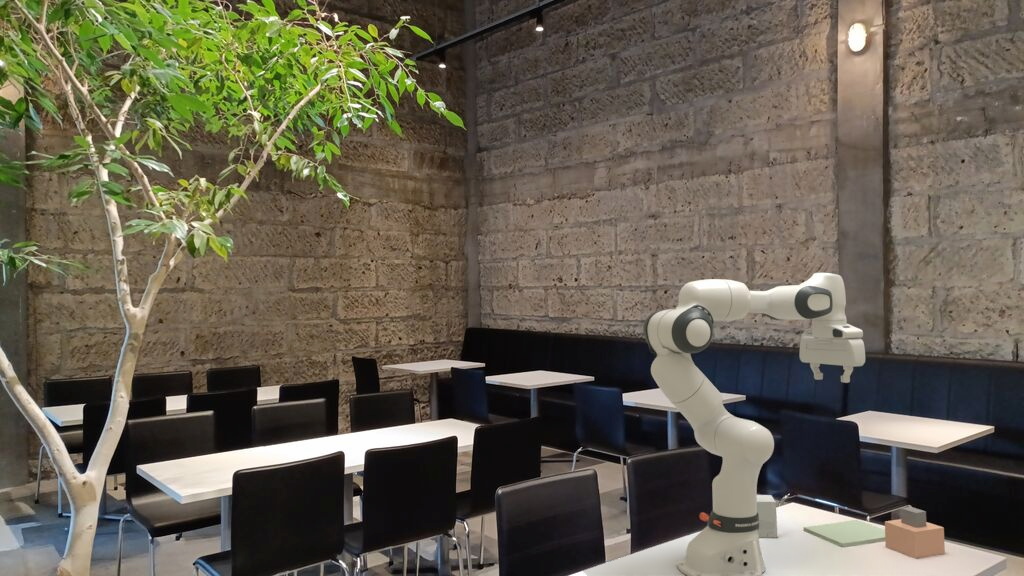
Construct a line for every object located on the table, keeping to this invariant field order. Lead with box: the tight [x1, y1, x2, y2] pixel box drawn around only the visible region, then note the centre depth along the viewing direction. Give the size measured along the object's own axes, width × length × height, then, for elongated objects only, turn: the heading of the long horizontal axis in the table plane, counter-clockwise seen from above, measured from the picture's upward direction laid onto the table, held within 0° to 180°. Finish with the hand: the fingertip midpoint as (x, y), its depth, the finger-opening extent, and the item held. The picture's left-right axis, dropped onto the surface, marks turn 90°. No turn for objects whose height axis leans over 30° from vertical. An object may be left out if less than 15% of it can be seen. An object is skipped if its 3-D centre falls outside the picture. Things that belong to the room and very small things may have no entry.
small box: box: [757, 494, 778, 538], centre depth 214 cm, size 8×6×10 cm
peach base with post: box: [884, 506, 946, 559], centre depth 197 cm, size 10×10×11 cm
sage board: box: [803, 519, 886, 548], centre depth 211 cm, size 20×16×1 cm
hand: (831, 380), depth 198 cm, fingers open, 8 cm apart
